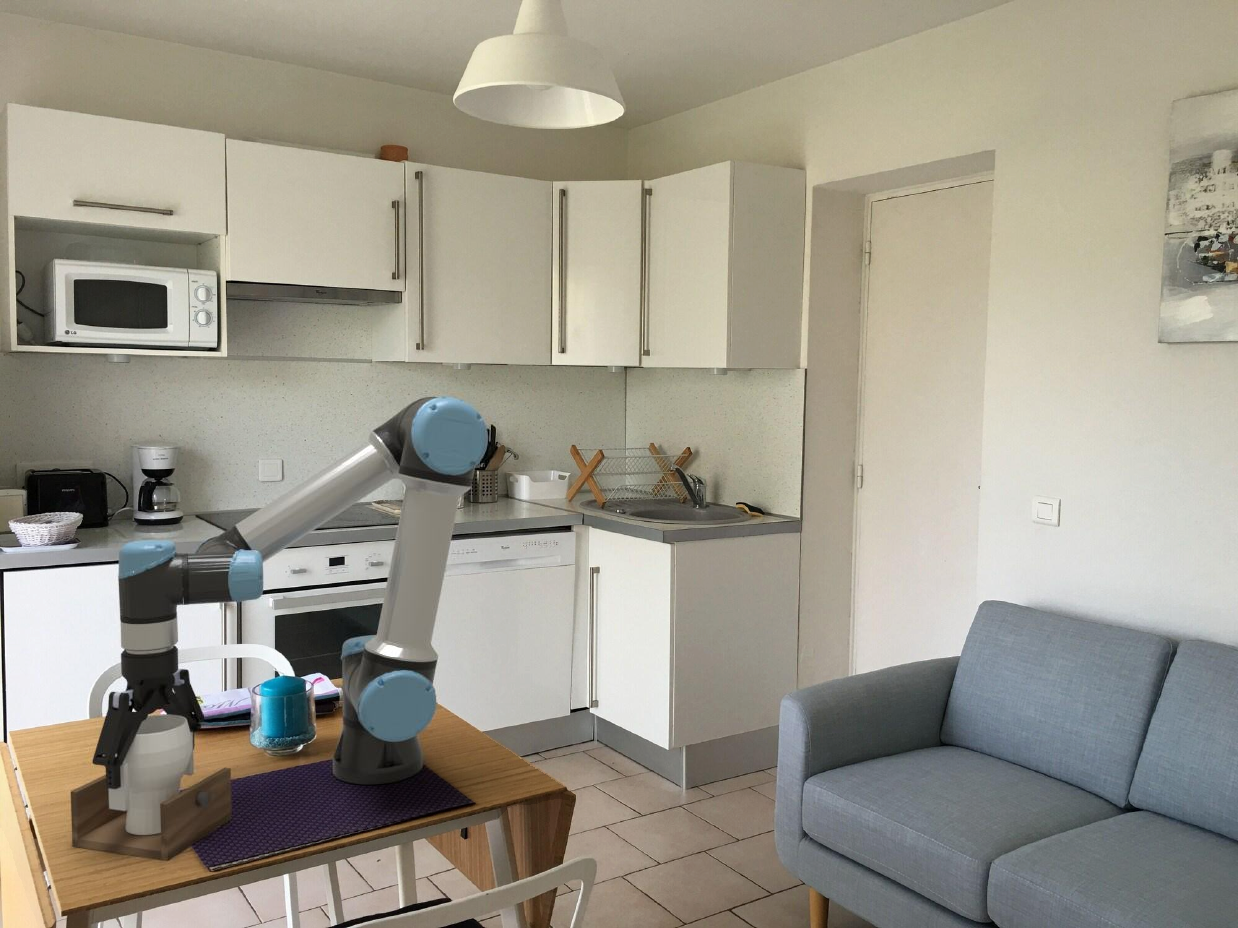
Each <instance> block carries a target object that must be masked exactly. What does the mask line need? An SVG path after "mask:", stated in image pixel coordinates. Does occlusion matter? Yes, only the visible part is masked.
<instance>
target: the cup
mask: <svg viewBox="0 0 1238 928" xmlns="http://www.w3.org/2000/svg"><path fill="white" fill-rule="evenodd" d="M191 752H192V736H191V733H190V729H189V726H188V722H187V719H186V718H185V717H183V716H180V715H172V714H166V713H160V714H159V713H157V714H148V717H147V718H146V720H144V721H142V723H141V725H140V727H139V729H138V731H137V733H136V736H135V738H134V740H133V742H132V744H131V746H130V749H129V751H128V753H127V755H126V757H125V759H124V761H123V763H128V783H129V809H128V810H127V817H126V826H125V829H126V831H127V832H128V833H131V834H136V835H151V834H157V833H161V815H160V803H162V802H164V801H166V800H168V799H169V798H171V797H173V796H175V795H177V794H178V793H180V792H181V791H180V790H181V783H182V779H183V776H184V775H183V774H184V772H185V770H186V768H187V766H188V763H189V759H190V756H191ZM116 756H117V754H116V755H115V757H116Z"/></svg>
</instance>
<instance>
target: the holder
mask: <svg viewBox="0 0 1238 928" xmlns="http://www.w3.org/2000/svg"><path fill="white" fill-rule="evenodd" d="M231 772H232V771H231V767H223V768H221V769H219V770H218V771H216V772H214V773H213V774H210V775H209V776H207V777H205V778H204V779H202V780H200V781H199V782H197V783H194V784H193V785H190V786H189V787H187V788H185V789H183V790H182V791H180V792H179V793H178V794H177V795H175V796H173V797H171V798H169V799H168V800H166V801H164V802H162V803H160V815H161V833H157V834H151V835H136V834H131V833H128V832H127V831H126V829H125V826H126V817H127V810H126V811H122V810H115V809H109V788H107V786H106V774H103V775H102V776H100V777H97V778H95V779H93V780H91V781H90V782H87V783H85V784H83V785H81V786H79V787H76V788H74V789H73V790H71V791H70V813H71V814H70V817H71V818H70V819H71V844H72V847H75V848H82V849H87V850H88V849H89V850H95V851H101V852H108V853H115V854H119V855H128V856H133V857H140V858H147V859H154V860H159V861H160V860H161V861H167V862H168V861H170V860H172V858H173V859H174V857H176V856H178V855H180V854H181V853H182V852H184V851H185V850H187V849H188V848H190V847H192V846H194V845H196V843H198V842H200V841H201V840H203V839H204V838H206V837H207V836H208V834H209V833H210V832H212V831H213V832H215V831H216V830H215V829H217V828H218V827H219V826H221V825H223V824H224V825H226V824H228V823H229V822H230V821H229V820H231V819H232V817H233V816H232V773H231ZM232 820H233V819H232ZM232 820H231V821H232ZM228 821H229V822H228ZM225 823H226V824H225ZM224 825H223V826H224ZM221 827H222V826H221ZM218 829H219V828H218ZM218 829H217V830H218ZM214 830H215V831H214ZM213 832H212V833H213ZM210 834H211V833H210ZM210 834H209V835H210ZM205 836H206V837H205ZM203 837H204V838H203ZM202 838H203V839H202ZM200 839H201V840H200Z"/></svg>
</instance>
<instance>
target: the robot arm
mask: <svg viewBox="0 0 1238 928" xmlns="http://www.w3.org/2000/svg"><path fill="white" fill-rule="evenodd" d="M488 441H489V435H488V429H487V425H486V423H485V421H484V419H483V417H482V416H481V414H480V413H479V411H478V410H477V409H476V408H475V407H474V406H473V405H470V404H469V403H468V402H465V401H463V399H459V398H455V397H452V396H451V397H450V396H449V397H446V396H439V397H437V396H426V397H423V398H418V399H416V400H414V401H413V402H411V403H409V404H408V405H407V406H405V407H404V408H403V409H402V410H400V411H399V412H397V414H395V415H393V416H392V417H391V418H389V419H388V420H386V421H385V422H383V424H381V425H380V426H378V427H377V428H374V429H373V430H372V431H370V433H369V436H368V440H367V441H366V442H364V443H363V444H361V445H359V446H358V447H356V448H355V449H353V450H351V451H350V452H349V453H347V454H345V455H344V456H342V457H340V458H339V459H337V460H336V461H334V462H333V463H331V464H330V465H328V466H326V467H325V468H323V469H321V470H320V471H318V472H317V473H315V474H314V475H312V476H311V477H309V478H308V479H306V480H304V481H303V482H301V483H300V484H298V485H296V486H295V487H293V488H292V489H290V490H288V491H287V492H286V493H283V494H282V495H280V496H279V497H277V498H275V499H274V500H273V501H271V502H269V503H268V504H266V505H265V506H262V508H260V509H258V510H257V511H255V512H253V513H251V515H249V516H248V517H246V518H244V519H243V520H240V522H238V523H236V524H235V525H233V526H232V527H230V528H228V529H226V531H224V532H222V533H220V534H219V535H215V536H212V537H209V538H207V539H205V540H204V541H203V542H202V543H200V545H199V546H198V548H197V549H195V552H193V553H188V552H187V553H186V552H185V553H183V552H178V551H177V549H176V544H175V542H173V541H171V540H168V539H142V540H135V541H130V542H127V543H125V544H124V545H123V546H121V548H120V549H119V552H118V575H117V578H118V580H117V581H118V598H119V599H118V601H119V603H118V605H119V620H120V647H121V648H122V649H123V651H122V652H121V653H120V664H121V665H120V668H121V670H120V671H121V676H122V677H123V678H124V679H125V680H126V688H125V690H123V691H111V692H110V693H109V694H108V701H107V702H108V704H107V707H108V708H107V711H106V715H105V718H104V721H103V725H102V727H101V731H100V734H99V737H98V741H97V745H96V747H95V751H94V754H93V758H92V764H93V765H94V766H104V768H105V775H106V786H107V788H109V809H115V810H122V811H126V810H128V809H129V783H128V763H123V761H124V759H125V757H126V755H127V753H128V751H129V749H130V746H131V744H132V742H133V740H134V738H135V736H136V733H137V731H138V729H139V727H140V725H141V723H142V721H144V720H146V718H147V717H148V715H152V714H154V713H155V712H156V711H157V710H163V711H164V713H165V714H172V715H180V716H183V717H185V718H186V719H187V722H188V726H189V729H190V733H191V736H192V752H191V756H190V759H189V763H188V766H187V768H186V770H185V772H184V774H183V776H185V775H186V776H192V775H194V774H195V768H194V767H195V764H194V751H195V745H196V743H195V731H196V732H199V731H201V728H202V723H203V722H204V721H205V715H204V712H203V710H202V708H201V706H200V703H199V700H198V698H197V696H196V693H195V691H194V689H193V687H192V683H191V680H190V672H189V669H186V668H179V649H178V647H177V646H176V645H177V644H178V642H179V631H178V629H179V627H178V611H177V607H178V606H182V605H183V606H187V605H189V606H190V605H198V604H199V605H200V604H201V605H202V604H217V603H219V604H220V603H222V604H223V603H241V602H245V601H252V600H254V601H255V600H259V599H260V598H261V597H262V596H263V592H264V563H265V562H266V561H268V560H269V559H271V558H273V557H274V556H277V554H279V553H280V552H281V551H284V550H285V549H286V548H288V547H290V546H291V545H293V544H294V543H296V542H297V541H299V540H300V539H302V538H304V537H305V536H307V535H308V534H310V533H312V532H313V531H314V530H317V529H318V528H319V527H320V526H322V525H324V524H325V523H327V522H328V521H329V520H332V519H333V518H335V517H336V516H338V515H339V514H341V513H342V512H345V510H347V509H348V508H350V507H351V506H353V505H355V504H356V503H358V502H360V501H361V500H362V499H364V498H366V497H367V496H368V495H370V494H372V493H373V492H375V491H376V490H378V489H379V488H381V487H382V486H384V485H385V484H387V483H389V482H390V481H392V480H395V479H396V480H401V482H402V483H403V485H404V487H405V488H404V494H403V499H402V504H401V509H400V515H399V520H398V525H397V531H396V536H395V539H394V547H393V551H392V556H391V561H390V565H389V572H388V575H387V581H386V585H385V586H386V587H385V591H384V592H385V593H384V597H383V602H382V606H381V607H382V608H381V612H380V617H379V621H378V628H377V633H376V634H372V635H363V636H362V635H361V636H357V637H351V638H347V640H345V641H344V642H343V644H342V650H341V651H342V652H341V655H340V660H341V662H342V663H341V666H342V669H341V670H342V671H341V674H342V682H341V683H342V684H341V685H342V730H341V732H340V735H339V738H338V741H337V745H336V748H335V751H334V753H333V757H332V774H333V776H335V778H336V779H338V780H341V781H342V782H346V783H350V784H356V785H382V784H384V785H385V784H389V783H395V782H399V781H402V780H406V779H408V778H409V779H410V778H411V777H413V776H416V774H418V773H419V772H420V771H421V770H422V769H423V766H424V752H423V750H422V746H421V743H420V740H419V737H418V735H419V734H420V733H421V732H423V731H425V729H426V728H428V726H429V724H430V723H431V722H432V720H433V718H434V716H435V714H436V709H437V693H436V688H435V687H434V684H433V683H434V680H435V675H436V669H437V665H438V659H439V655H438V653H437V651H436V650H435V648H434V647H433V646H432V645H433V644H432V638H433V634H434V629H435V625H436V619H437V613H438V608H439V603H440V599H441V594H442V588H443V583H444V577H445V572H446V567H447V563H448V562H447V561H448V557H449V552H450V547H451V542H452V536H453V533H454V527H455V521H456V516H457V511H458V507H459V502H460V501H459V500H460V498H461V497H462V495H464V494H465V493H467V492H468V491H470V490H471V489H472V483H473V479H474V475H475V469H476V467H477V465H478V464H479V463H480V462H481V461H482V459H483V458H484V456H485V453H486V451H487V449H488V448H487V447H488ZM133 710H134V711H133ZM116 754H117V756H116V757H115V755H116Z"/></svg>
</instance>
